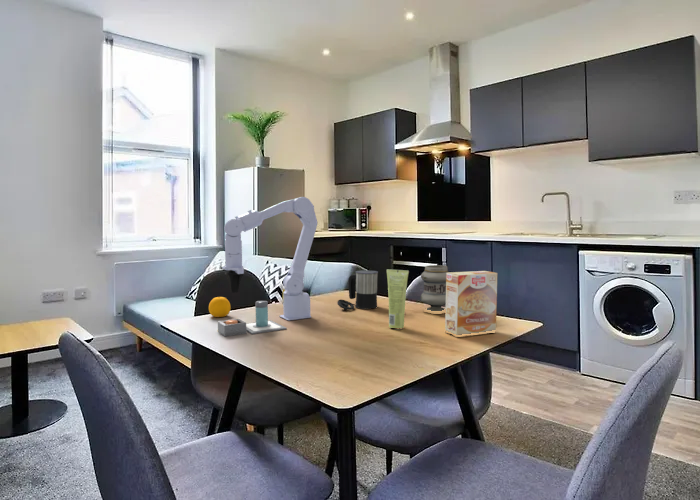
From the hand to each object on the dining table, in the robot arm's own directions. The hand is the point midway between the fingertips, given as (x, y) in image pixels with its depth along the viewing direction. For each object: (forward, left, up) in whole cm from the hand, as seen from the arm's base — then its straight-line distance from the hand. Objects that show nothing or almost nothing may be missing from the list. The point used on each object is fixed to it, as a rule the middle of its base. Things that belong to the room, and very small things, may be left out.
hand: (234, 292), depth 161 cm
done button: (+6, +15, -9) cm, 19 cm away
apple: (+2, -11, -11) cm, 15 cm away
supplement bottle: (-30, -19, -11) cm, 37 cm away
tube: (-42, +39, -11) cm, 58 cm away
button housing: (+6, +15, -10) cm, 19 cm away
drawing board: (-4, +14, -10) cm, 18 cm away
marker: (-4, +14, -10) cm, 18 cm away
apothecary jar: (-71, +27, -11) cm, 77 cm away
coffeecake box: (-57, +57, -11) cm, 82 cm away
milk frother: (-50, +4, -11) cm, 51 cm away
